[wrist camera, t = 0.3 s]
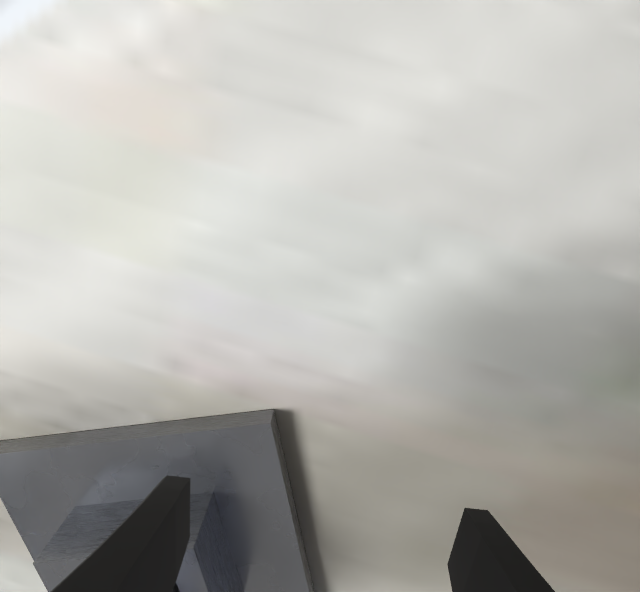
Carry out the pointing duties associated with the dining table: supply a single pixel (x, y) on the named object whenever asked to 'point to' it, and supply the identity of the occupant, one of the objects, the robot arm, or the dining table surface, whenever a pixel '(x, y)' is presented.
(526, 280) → the dining table surface
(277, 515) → the stand base
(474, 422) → the dining table surface
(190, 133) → the dining table surface
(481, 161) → the dining table surface
